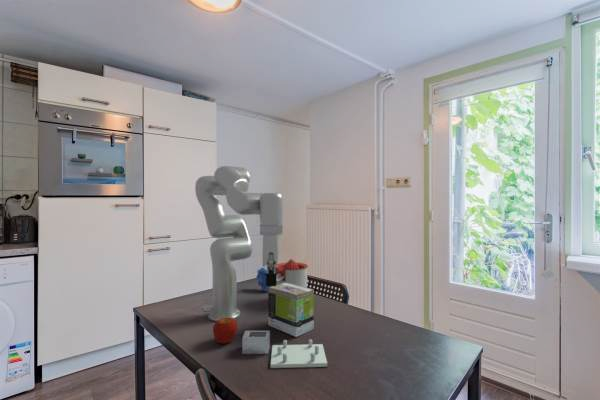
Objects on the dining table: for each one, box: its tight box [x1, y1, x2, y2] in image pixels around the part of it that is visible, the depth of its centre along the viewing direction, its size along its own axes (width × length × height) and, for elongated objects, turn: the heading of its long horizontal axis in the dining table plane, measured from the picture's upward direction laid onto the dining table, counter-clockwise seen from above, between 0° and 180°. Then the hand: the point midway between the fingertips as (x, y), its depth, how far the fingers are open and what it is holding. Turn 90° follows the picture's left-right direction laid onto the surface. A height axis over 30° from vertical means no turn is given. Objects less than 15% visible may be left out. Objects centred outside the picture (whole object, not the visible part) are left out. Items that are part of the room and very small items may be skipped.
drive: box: [241, 330, 271, 355], centre depth 92 cm, size 8×5×5 cm, turn 90°
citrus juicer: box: [276, 258, 309, 288], centre depth 135 cm, size 16×17×20 cm
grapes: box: [256, 266, 271, 292], centre depth 152 cm, size 12×7×12 cm, turn 49°
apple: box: [212, 317, 239, 345], centre depth 97 cm, size 8×8×8 cm
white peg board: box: [270, 338, 328, 369], centre depth 87 cm, size 16×11×3 cm
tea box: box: [267, 283, 315, 338], centre depth 108 cm, size 15×10×15 cm
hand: (271, 281), depth 96 cm, fingers open, 9 cm apart
